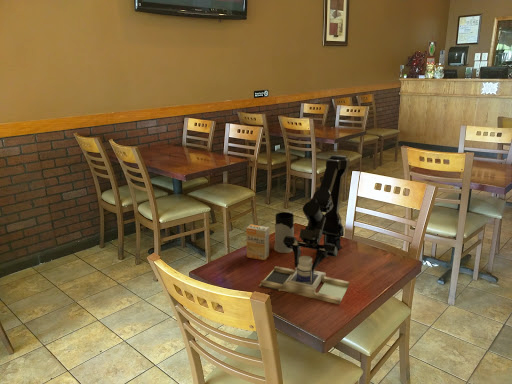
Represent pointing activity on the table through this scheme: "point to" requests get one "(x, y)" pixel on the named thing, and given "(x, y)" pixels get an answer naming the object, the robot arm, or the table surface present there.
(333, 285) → the pad
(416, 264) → the table surface
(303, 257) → the pill bottle
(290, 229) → the glass holder
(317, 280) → the collar carriage
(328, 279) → the oak channel
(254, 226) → the supplement box
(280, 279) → the tray
